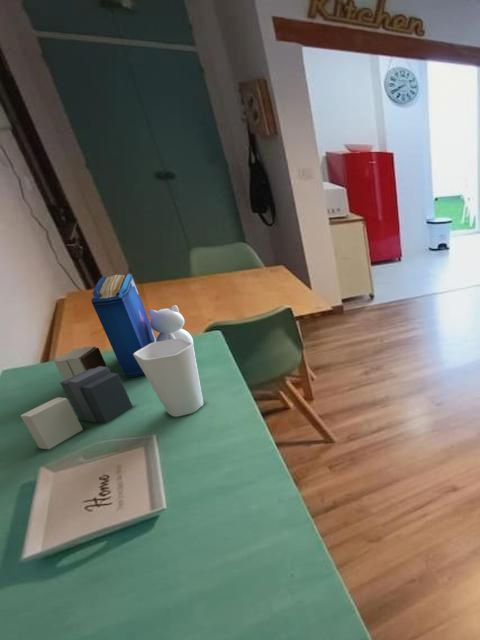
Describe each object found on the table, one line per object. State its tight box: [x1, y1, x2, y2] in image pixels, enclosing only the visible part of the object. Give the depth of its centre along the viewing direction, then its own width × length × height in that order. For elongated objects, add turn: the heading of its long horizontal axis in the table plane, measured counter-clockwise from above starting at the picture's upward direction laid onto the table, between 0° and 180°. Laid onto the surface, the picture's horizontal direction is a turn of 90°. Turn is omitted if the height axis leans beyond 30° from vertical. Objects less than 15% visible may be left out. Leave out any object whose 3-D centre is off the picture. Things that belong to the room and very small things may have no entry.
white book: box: [20, 396, 84, 450], centre depth 92 cm, size 2×7×9 cm, turn 171°
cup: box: [133, 338, 204, 417], centre depth 102 cm, size 11×10×17 cm
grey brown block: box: [54, 346, 108, 381], centre depth 113 cm, size 6×7×9 cm
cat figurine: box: [148, 304, 194, 344], centre depth 128 cm, size 9×12×15 cm
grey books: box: [60, 366, 134, 424], centre depth 101 cm, size 8×7×11 cm
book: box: [90, 272, 157, 378], centre depth 120 cm, size 22×7×25 cm, turn 34°
